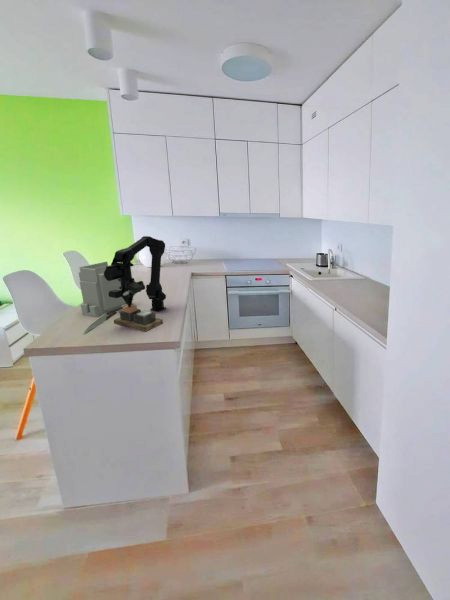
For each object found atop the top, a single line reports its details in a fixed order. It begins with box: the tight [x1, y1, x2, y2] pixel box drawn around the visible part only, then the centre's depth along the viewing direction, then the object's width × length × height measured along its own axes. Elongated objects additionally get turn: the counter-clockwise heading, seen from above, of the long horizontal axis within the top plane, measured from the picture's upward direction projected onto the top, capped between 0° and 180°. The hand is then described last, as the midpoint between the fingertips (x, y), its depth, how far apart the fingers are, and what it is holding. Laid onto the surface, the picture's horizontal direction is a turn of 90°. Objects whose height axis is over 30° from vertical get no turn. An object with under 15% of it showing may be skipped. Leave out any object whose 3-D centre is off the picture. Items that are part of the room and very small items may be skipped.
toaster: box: [78, 261, 127, 318], centre depth 166 cm, size 17×27×26 cm, turn 153°
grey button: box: [137, 310, 152, 317], centre depth 142 cm, size 5×5×4 cm
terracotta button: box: [121, 304, 138, 313], centre depth 146 cm, size 5×5×4 cm
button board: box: [113, 308, 164, 333], centre depth 145 cm, size 12×22×6 cm, turn 59°
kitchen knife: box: [82, 311, 118, 336], centre depth 147 cm, size 4×1×30 cm
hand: (129, 306), depth 145 cm, fingers closed, pressing on terracotta button
